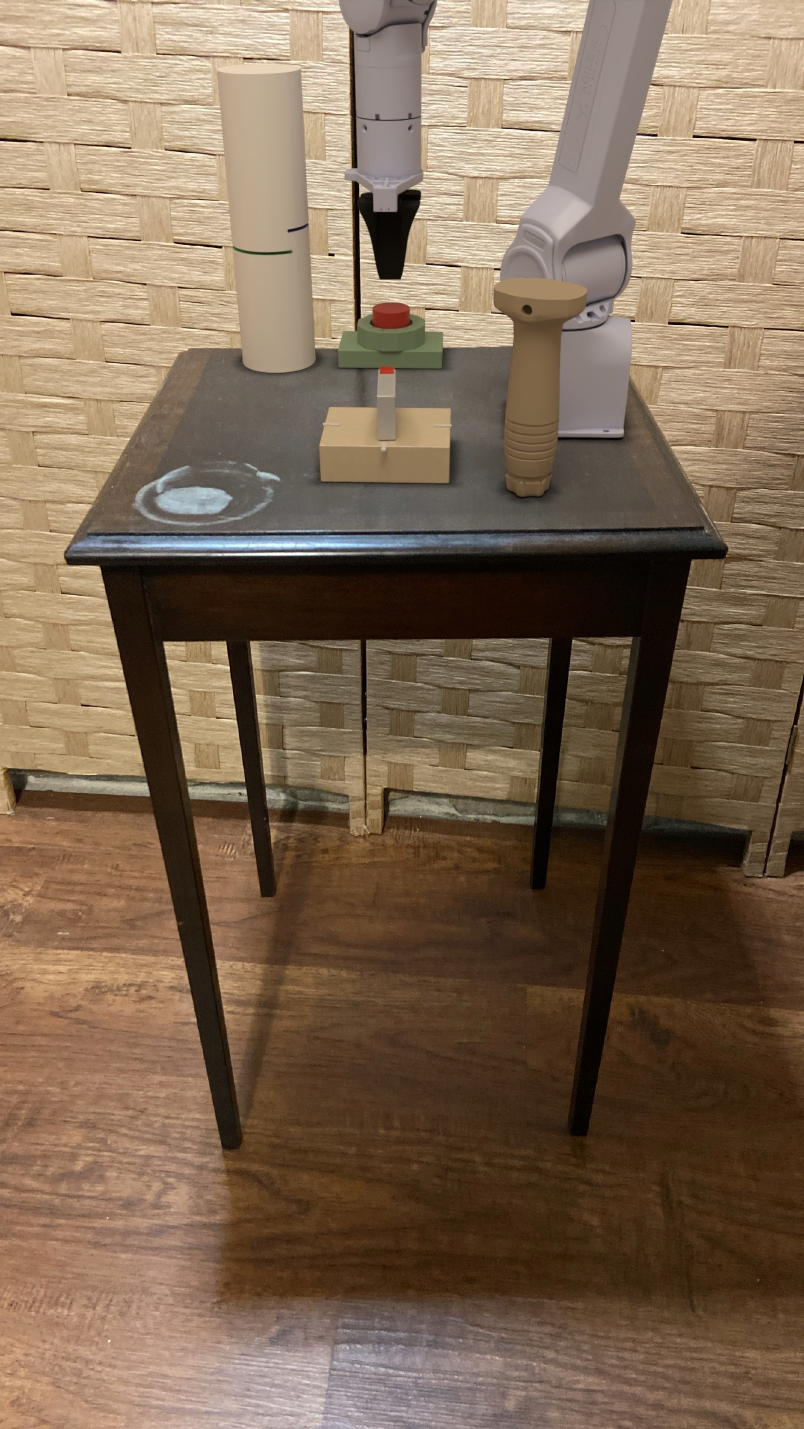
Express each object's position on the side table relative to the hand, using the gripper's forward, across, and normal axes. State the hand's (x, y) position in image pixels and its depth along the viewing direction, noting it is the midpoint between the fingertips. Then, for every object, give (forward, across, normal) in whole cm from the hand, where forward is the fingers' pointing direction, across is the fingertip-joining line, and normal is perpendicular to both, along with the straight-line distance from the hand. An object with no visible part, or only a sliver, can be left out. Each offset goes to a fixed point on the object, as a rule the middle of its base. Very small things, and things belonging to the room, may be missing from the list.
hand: (390, 276), depth 106 cm
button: (+5, 0, 0) cm, 5 cm away
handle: (+8, +30, +12) cm, 33 cm away
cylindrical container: (+8, +1, -11) cm, 14 cm away
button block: (+8, 0, 0) cm, 8 cm away
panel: (+8, +25, +1) cm, 26 cm away
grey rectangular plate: (+5, +25, +1) cm, 25 cm away
